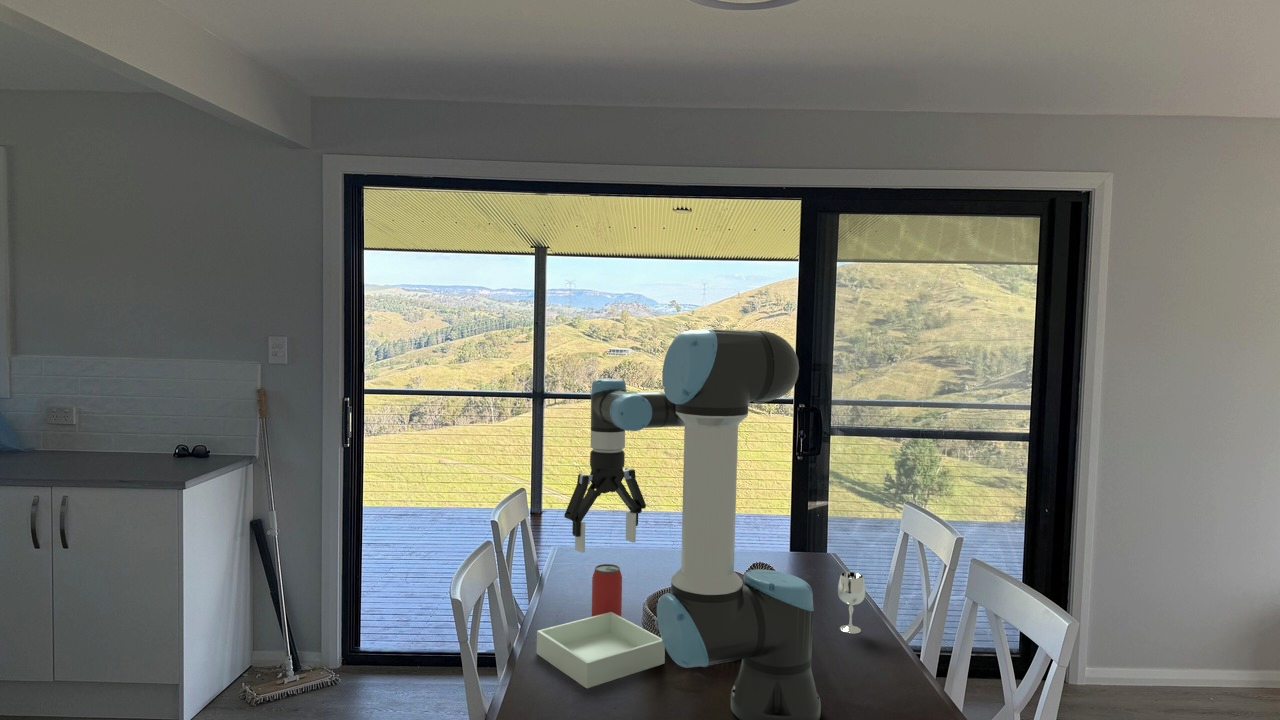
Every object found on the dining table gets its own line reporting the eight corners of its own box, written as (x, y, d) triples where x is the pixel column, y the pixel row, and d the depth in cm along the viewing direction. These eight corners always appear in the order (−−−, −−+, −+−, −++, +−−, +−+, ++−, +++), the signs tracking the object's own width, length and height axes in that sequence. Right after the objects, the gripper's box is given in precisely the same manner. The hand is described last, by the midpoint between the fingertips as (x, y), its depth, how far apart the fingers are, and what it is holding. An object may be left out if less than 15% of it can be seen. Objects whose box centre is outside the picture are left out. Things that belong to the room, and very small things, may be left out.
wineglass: (833, 631, 167) (835, 576, 166) (840, 622, 172) (841, 569, 171) (860, 636, 164) (862, 581, 164) (866, 627, 169) (868, 573, 169)
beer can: (617, 628, 166) (618, 573, 166) (588, 625, 168) (588, 571, 167) (624, 617, 173) (625, 564, 172) (595, 614, 174) (596, 562, 174)
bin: (664, 663, 149) (665, 640, 149) (586, 688, 138) (587, 663, 138) (611, 633, 164) (611, 611, 163) (536, 653, 153) (536, 630, 153)
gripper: (642, 442, 179) (640, 533, 180) (549, 452, 164) (547, 551, 165) (662, 447, 173) (660, 540, 174) (568, 457, 158) (566, 559, 159)
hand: (605, 546), depth 169 cm, fingers open, 13 cm apart
